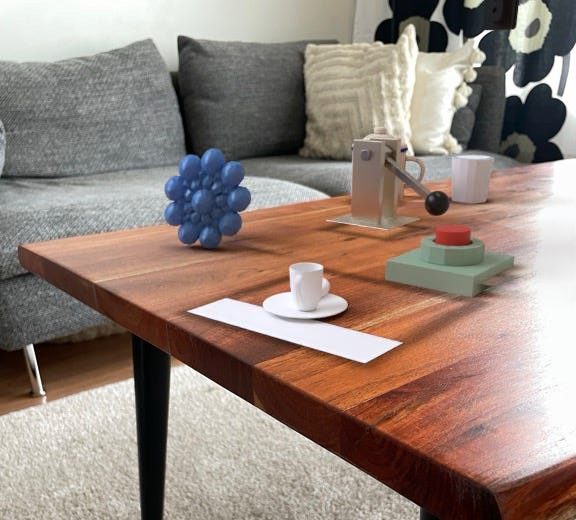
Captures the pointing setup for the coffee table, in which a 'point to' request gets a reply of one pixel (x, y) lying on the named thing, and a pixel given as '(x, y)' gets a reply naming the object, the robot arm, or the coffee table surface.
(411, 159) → the teacup with lid
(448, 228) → the button
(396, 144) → the switch bracket
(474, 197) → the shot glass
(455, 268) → the green button base
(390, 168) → the switch lever
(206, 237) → the blue beaded flower wheel
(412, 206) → the coffee table surface
